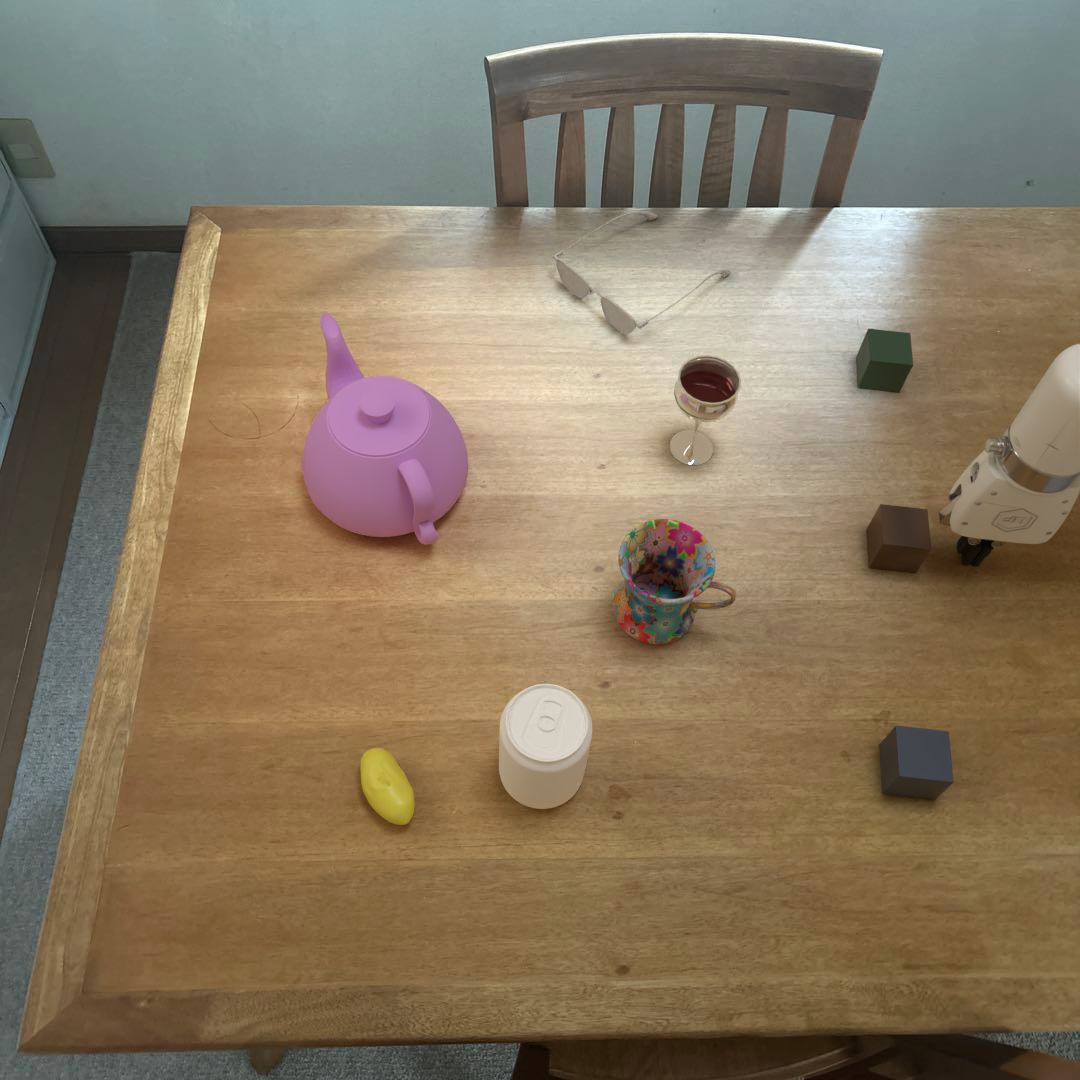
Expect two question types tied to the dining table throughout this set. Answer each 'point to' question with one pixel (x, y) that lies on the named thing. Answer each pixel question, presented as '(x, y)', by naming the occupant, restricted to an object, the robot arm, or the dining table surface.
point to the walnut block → (898, 538)
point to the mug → (664, 580)
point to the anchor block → (916, 762)
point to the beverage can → (544, 745)
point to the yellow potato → (386, 786)
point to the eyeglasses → (610, 308)
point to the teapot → (381, 451)
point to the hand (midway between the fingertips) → (968, 554)
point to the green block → (884, 360)
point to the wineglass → (703, 403)
